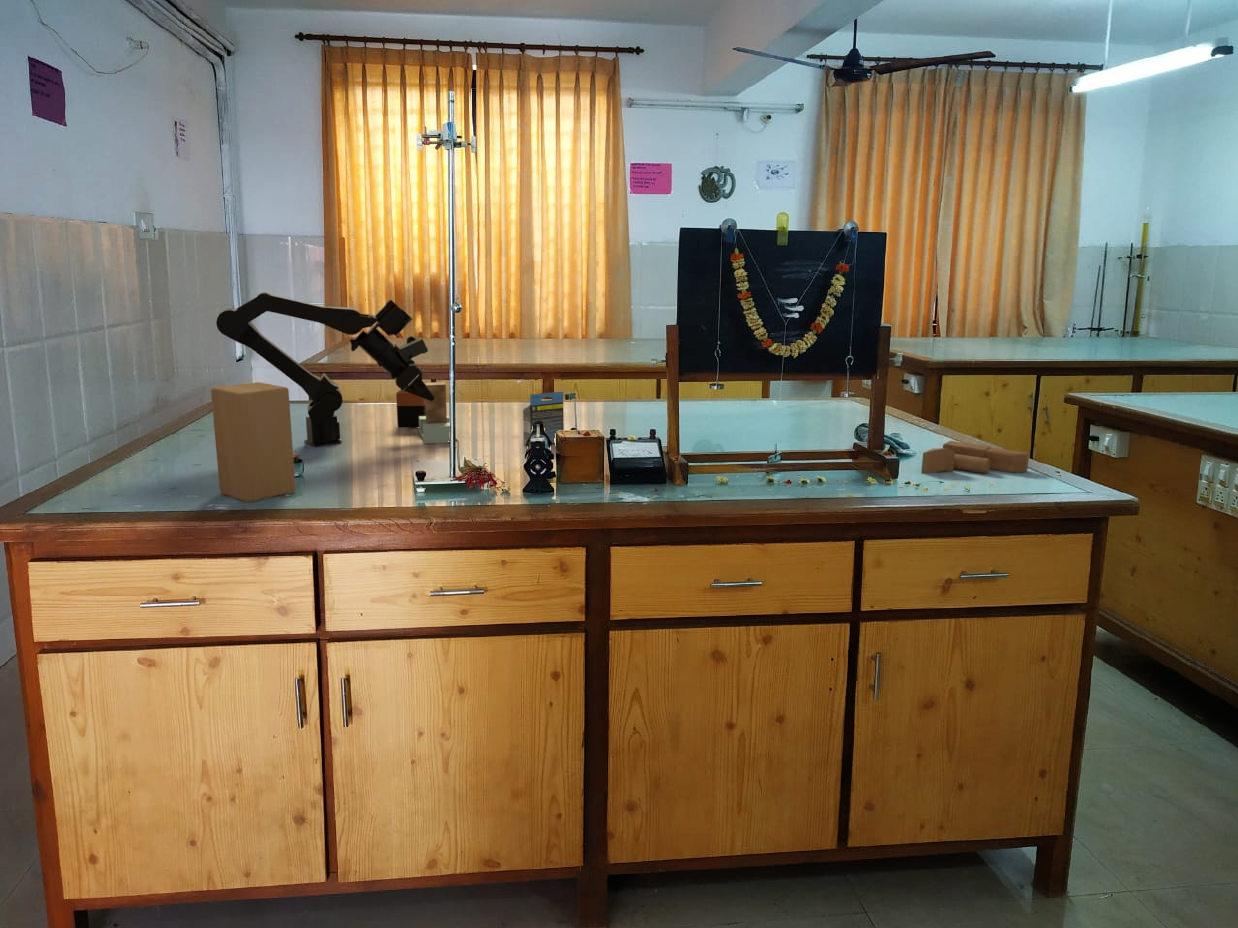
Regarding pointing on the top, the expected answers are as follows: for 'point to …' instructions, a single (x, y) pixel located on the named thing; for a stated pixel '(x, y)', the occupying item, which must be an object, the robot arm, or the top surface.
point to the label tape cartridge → (544, 414)
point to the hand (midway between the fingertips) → (431, 396)
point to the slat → (436, 403)
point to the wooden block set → (973, 459)
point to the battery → (409, 409)
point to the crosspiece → (434, 431)
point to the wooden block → (253, 440)
